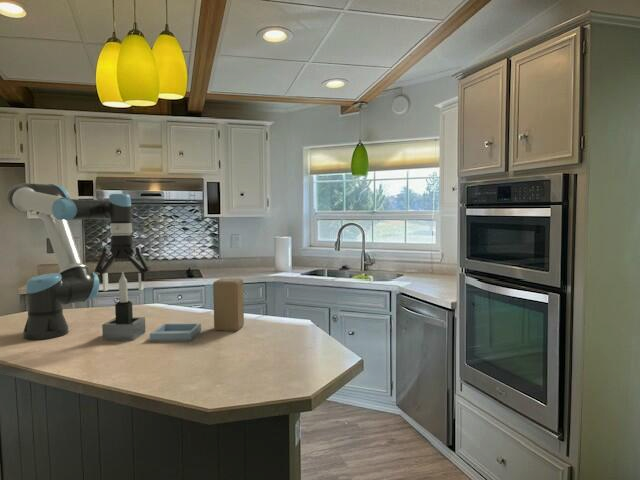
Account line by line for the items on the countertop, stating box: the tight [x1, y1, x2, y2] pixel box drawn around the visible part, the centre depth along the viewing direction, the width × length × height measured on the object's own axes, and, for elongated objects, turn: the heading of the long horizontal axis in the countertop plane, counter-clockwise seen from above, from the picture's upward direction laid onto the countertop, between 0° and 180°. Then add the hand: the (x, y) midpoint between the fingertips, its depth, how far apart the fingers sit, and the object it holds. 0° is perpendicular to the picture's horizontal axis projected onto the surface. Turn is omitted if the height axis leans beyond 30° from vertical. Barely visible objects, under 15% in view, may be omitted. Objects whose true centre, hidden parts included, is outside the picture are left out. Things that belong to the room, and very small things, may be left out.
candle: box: [114, 271, 133, 324], centre depth 175 cm, size 5×5×25 cm
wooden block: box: [212, 277, 245, 332], centre depth 186 cm, size 10×10×20 cm
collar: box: [101, 316, 146, 342], centre depth 176 cm, size 12×12×6 cm
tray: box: [149, 322, 202, 343], centre depth 176 cm, size 15×15×3 cm
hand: (123, 290), depth 175 cm, fingers open, 13 cm apart
